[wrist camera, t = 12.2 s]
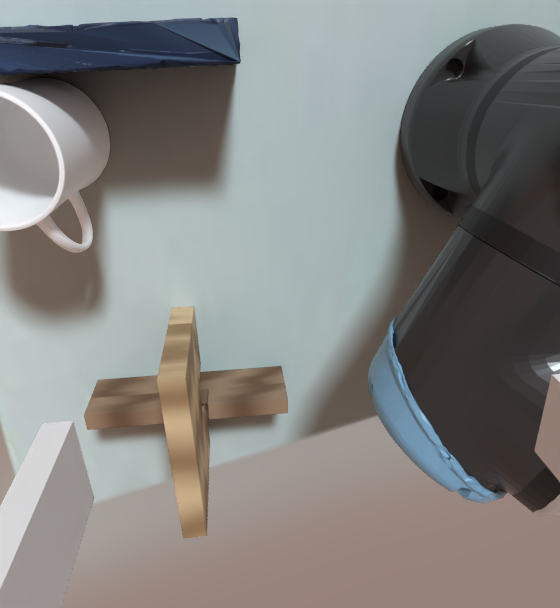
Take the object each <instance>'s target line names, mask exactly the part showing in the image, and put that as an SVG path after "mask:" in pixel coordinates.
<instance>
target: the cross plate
mask: <svg viewBox="0 0 560 608" xmlns="http://www.w3.org/2000/svg"><path fill="white" fill-rule="evenodd" d="M200 364H201V362H200V354H199V346H198V337H197V329H196V320H195V312H194V306H191V307H178V308H172V311H171V316H170V320H169V325H168V330H167V335H166V339H165V344H164V349H163V354H162V359H161V363H160V368H159V373H158V378H157V384H158V390H159V396H160V402H161V408H162V414H163V420H164V426H165V432H166V438H167V444H168V450H169V456H170V462H171V468H172V474H173V480H174V486H175V492H176V498H177V504H178V510H179V516H180V522H181V528H182V534H183V538H190V537H198V536H207V517H208V485H209V482H208V481H209V454H210V438H209V429H208V421H207V413H206V404H205V403H203V404H202V401H201V393H200V385H199V378H200Z"/></svg>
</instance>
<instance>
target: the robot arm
mask: <svg viewBox="0 0 560 608" xmlns="http://www.w3.org/2000/svg"><path fill="white" fill-rule="evenodd" d="M401 152H402V158H403V162H404V166H405V169H406V171H407V174H408V176H409V178H410V180H411V182H412V184H413V185H414V187H415V188H416V189H417V191H418V192H419V193H420V194H421V195H422V196H423V197H424V198H425V199H426V200H427V201H428V202H430V203H431V204H433V205H434V206H436V207H437V208H439V209H441V210H442V211H444V212H446V213H447V214H449V215H452V216H454V217H457V218H460V219H462V221H461V222H460V224H459V225H458V226H457V228H456V229H455V231H454V232H453V234H452V235H451V237H450V238H449V240H448V241H447V243H446V244H445V246H444V248H443V249H442V251H441V252H440V254H439V255H438V257H437V258H436V260H435V261H434V263H433V264H432V266H431V267H430V269H429V270H428V272H427V273H426V275H425V277H424V278H423V280H422V281H421V283H420V284H419V286H418V287H417V289H416V290H415V292H414V293H413V295H412V296H411V298H410V299H409V301H408V302H407V304H406V306H405V307H404V309H403V310H402V312H401V313H400V315H399V316H396V317H395V318H394V319H393V320H392V321H391V323H390V325H389V327H388V334H387V335H386V337H385V339H384V341H383V342H382V344H381V346H380V348H379V349H378V351H377V353H376V354H375V356H374V358H373V360H372V362H371V364H370V367H369V371H368V387H369V392H370V395H371V397H372V402H373V405H374V408H375V410H376V412H377V415H378V416H379V418H380V420H381V422H382V423H383V425H384V427H385V428H386V429H387V431H388V433H389V434H390V436H391V437H392V438H393V440H394V441H395V442H396V443H397V444H398V446H399V447H400V448H401V449H402V450H403V452H405V454H406V455H407V456H408V457H409V458H410V459H411V460H412V461H413V462H414V463H415V464H416V465H417V466H418V467H419V468H420V469H421V470H422V471H423V472H424V473H426V474H427V475H428V476H429V477H430V478H432V479H433V480H434V481H436V482H437V483H439V484H440V485H441V486H443V487H444V488H446V489H448V490H449V491H456V490H457V491H458V493H459V494H460V495H461V496H462V497H463V498H465V499H467V500H470V501H474V502H478V503H487V502H491V501H494V500H495V499H500V498H503V497H504V496H505V495H506V493H507V492H508V493H509V494H510V495H512V496H513V497H515V498H516V499H517V500H519V501H520V502H521V503H522V504H523V505H525V506H526V507H527V508H528V509H529V510H531V511H532V512H534V513H535V514H536V515H537V516H560V37H559V36H558V35H556V34H554V33H553V32H550V31H548V30H546V29H543V28H540V27H536V26H531V25H524V24H510V25H502V26H495V27H489V28H485V29H481V30H478V31H475V32H472V33H470V34H468V35H466V36H464V37H462V38H460V39H458V40H457V41H455V42H453V43H452V44H451V45H449V46H448V47H447V48H445V49H444V50H443V51H442V52H441V53H440V54H438V55H437V56H436V57H435V58H434V60H433V61H432V62H431V63H430V64H429V65H428V66H427V68H426V69H425V70H424V72H423V73H422V74H421V76H420V77H419V79H418V81H417V82H416V84H415V86H414V88H413V90H412V92H411V94H410V97H409V99H408V102H407V105H406V108H405V111H404V115H403V120H402V127H401ZM93 501H94V495H93V492H92V488H91V485H90V481H89V477H88V474H87V470H86V466H85V463H84V459H83V455H82V452H81V448H80V444H79V441H78V437H77V433H76V430H75V426H74V422H73V421H65V422H55V423H44V424H42V426H41V428H40V430H39V432H38V434H37V436H36V438H35V440H34V442H33V444H32V446H31V448H30V450H29V452H28V453H27V455H26V457H25V459H24V461H23V463H22V465H21V467H20V469H19V471H18V473H17V475H16V477H15V479H14V481H13V483H12V485H11V487H10V488H9V490H8V492H7V494H6V496H5V498H4V501H3V502H2V504H1V506H0V608H61V606H62V603H63V599H64V596H65V593H66V590H67V587H68V583H69V580H70V577H71V573H72V570H73V566H74V563H75V560H76V557H77V554H78V550H79V547H80V544H81V541H82V537H83V534H84V531H85V527H86V524H87V521H88V517H89V514H90V511H91V508H92V504H93Z"/></svg>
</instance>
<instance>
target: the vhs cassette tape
mask: <svg viewBox="0 0 560 608" xmlns="http://www.w3.org/2000/svg"><path fill="white" fill-rule="evenodd" d="M240 61H241V60H240V42H239V37H238V22H237V18H209V19H205V20H203V19H201V18H192V19H172V20H164V21H148V22H141V21H130V22H108V23H92V24H80V25H79V26H73V25H63V26H39V25H28V26H24V27H0V75H16V74H31V73H38V74H43V73H56V72H66V73H68V72H77V71H103V70H128V69H147V68H153V69H156V68H168V67H190V66H191V68H192V67H199V66H210V65H214V66H215V65H234V64H240Z"/></svg>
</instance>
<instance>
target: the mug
mask: <svg viewBox="0 0 560 608" xmlns="http://www.w3.org/2000/svg"><path fill="white" fill-rule="evenodd" d="M109 153H110V137H109V132H108V128H107V125H106V122H105V120H104V118H103V116H102V114H101V112H100V111H99V109H98V108H97V106H96V105H95V104H94V103H93V102H92V100H91V99H90V98H89V97H88V96H86V95H85V94H84V93H83V92H82V91H80V90H79V89H77V88H76V87H74V86H72V85H70V84H68V83H66V82H63V81H60V80H56V79H51V78H33V79H28V80H25V81H22V82H20V83H7V84H0V231H15V230H21V229H24V228H28V227H30V226H33V225H35V224H36V225H37V226H38V227H40V228H41V230H42V231H43V232H44V233H45V234H46V235H47V236H48V237H49V238H50V239H51V240H52V241H53V242H55V243H56V244H57V245H58V246H60V247H61V248H63V249H65V250H67V251H69V252H73V253H79V252H83V251H85V250H87V249H88V248H89V247H90V246H91V244H92V241H93V229H92V224H91V220H90V217H89V214H88V211H87V208H86V206H85V204H84V202H83V199H82V197H81V195H80V192H79V190H81V189H83V188H85V187H87V186H89V185H90V184H92V183H93V182H94V181H95V180H96V179H97V178H98V177H99V176H100V175H101V173H102V172H103V170H104V168H105V166H106V164H107V161H108V158H109ZM67 199H69V201H70V202H71V203H72V205H73V207H74V209H75V211H76V213H77V216H78V219H79V221H80V225H81V229H82V243H81V244H78V243H76V242H74V241H72V240H71V239H70V238H68V237H67V236H66V235H65V234H64V233H63V232H62V231H61V230H60V229H59V228H58V227H57V225H56V224H55V223H54V221H53V220H52V218H51V216H50V214H51V213H52V212H53V211H54V210H55V209H57V208H58V207H59V206H60V205H61V204H63V203H64V202H65V201H66V200H67Z"/></svg>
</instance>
